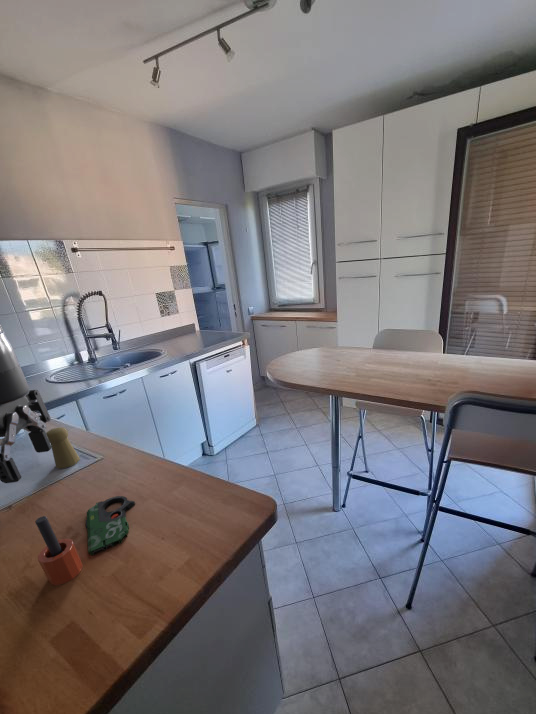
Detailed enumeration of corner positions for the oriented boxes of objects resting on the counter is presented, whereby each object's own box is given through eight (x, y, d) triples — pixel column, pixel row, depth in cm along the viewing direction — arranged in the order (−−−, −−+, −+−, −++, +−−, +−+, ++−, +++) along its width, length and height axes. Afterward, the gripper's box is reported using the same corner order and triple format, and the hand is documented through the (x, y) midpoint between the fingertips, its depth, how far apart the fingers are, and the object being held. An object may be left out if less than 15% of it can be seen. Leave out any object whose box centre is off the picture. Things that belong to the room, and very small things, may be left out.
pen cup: (44, 589, 59) (31, 564, 56) (59, 564, 63) (47, 541, 61) (75, 583, 59) (63, 559, 57) (88, 559, 64) (77, 536, 62)
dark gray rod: (59, 576, 60) (32, 523, 55) (63, 569, 62) (38, 516, 57) (68, 574, 61) (43, 521, 56) (73, 567, 62) (48, 515, 57)
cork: (52, 465, 97) (38, 431, 93) (74, 454, 101) (61, 422, 97) (61, 471, 94) (46, 436, 89) (83, 460, 98) (71, 427, 94)
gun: (141, 531, 68) (85, 554, 63) (143, 536, 69) (88, 559, 64) (131, 490, 81) (84, 507, 76) (133, 495, 82) (86, 512, 77)
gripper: (-9, 357, 53) (30, 445, 59) (-92, 389, 40) (-30, 497, 46) (42, 352, 54) (75, 440, 60) (-23, 382, 41) (28, 489, 47)
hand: (29, 465), depth 53 cm, fingers open, 8 cm apart
